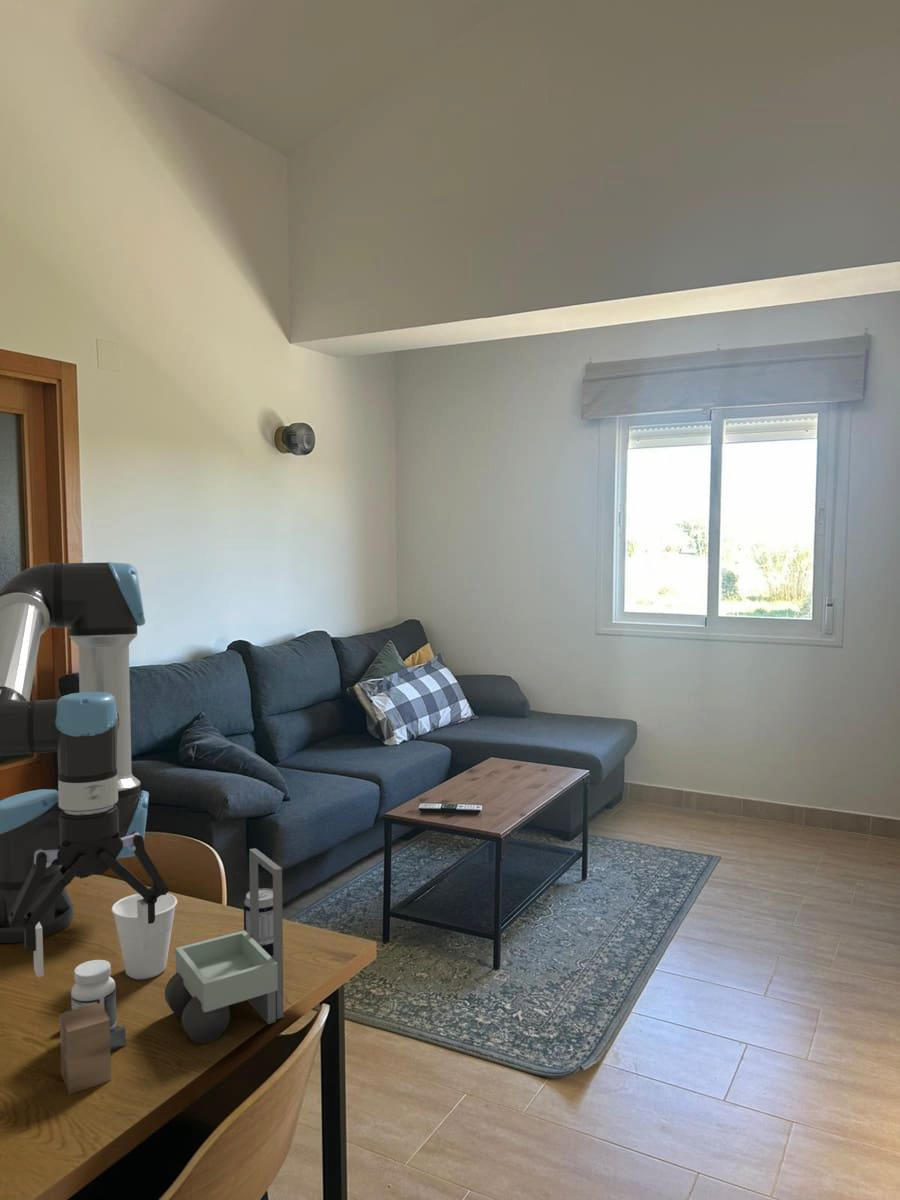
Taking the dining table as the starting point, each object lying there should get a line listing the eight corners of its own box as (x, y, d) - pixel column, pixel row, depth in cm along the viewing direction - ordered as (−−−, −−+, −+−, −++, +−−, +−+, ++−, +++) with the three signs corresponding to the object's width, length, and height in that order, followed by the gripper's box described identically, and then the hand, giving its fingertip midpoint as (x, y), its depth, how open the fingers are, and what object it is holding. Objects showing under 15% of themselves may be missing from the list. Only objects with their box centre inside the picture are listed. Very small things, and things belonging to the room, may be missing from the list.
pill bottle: (104, 1020, 125) (102, 953, 125) (124, 1035, 122) (123, 966, 121) (64, 1037, 121) (63, 968, 121) (84, 1053, 117) (82, 982, 117)
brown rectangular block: (61, 1073, 113) (59, 1014, 112) (102, 1061, 116) (100, 1002, 115) (69, 1094, 109) (67, 1032, 108) (111, 1080, 112) (109, 1019, 111)
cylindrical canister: (287, 965, 142) (286, 893, 141) (259, 978, 138) (258, 904, 137) (265, 954, 146) (264, 884, 145) (237, 967, 141) (236, 895, 140)
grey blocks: (65, 1027, 124) (64, 1011, 123) (109, 1015, 127) (109, 999, 127) (78, 1059, 116) (78, 1042, 116) (125, 1045, 119) (125, 1028, 119)
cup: (158, 989, 134) (156, 919, 133) (99, 983, 136) (98, 914, 135) (189, 959, 144) (188, 894, 143) (135, 953, 146) (133, 889, 145)
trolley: (162, 1011, 128) (159, 864, 127) (254, 984, 136) (252, 845, 134) (190, 1053, 118) (187, 893, 116) (287, 1021, 125) (285, 871, 124)
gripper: (-11, 830, 109) (-6, 996, 110) (188, 798, 123) (191, 946, 124) (-18, 815, 115) (-13, 973, 117) (172, 787, 129) (175, 927, 131)
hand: (92, 959), depth 120 cm, fingers open, 13 cm apart
